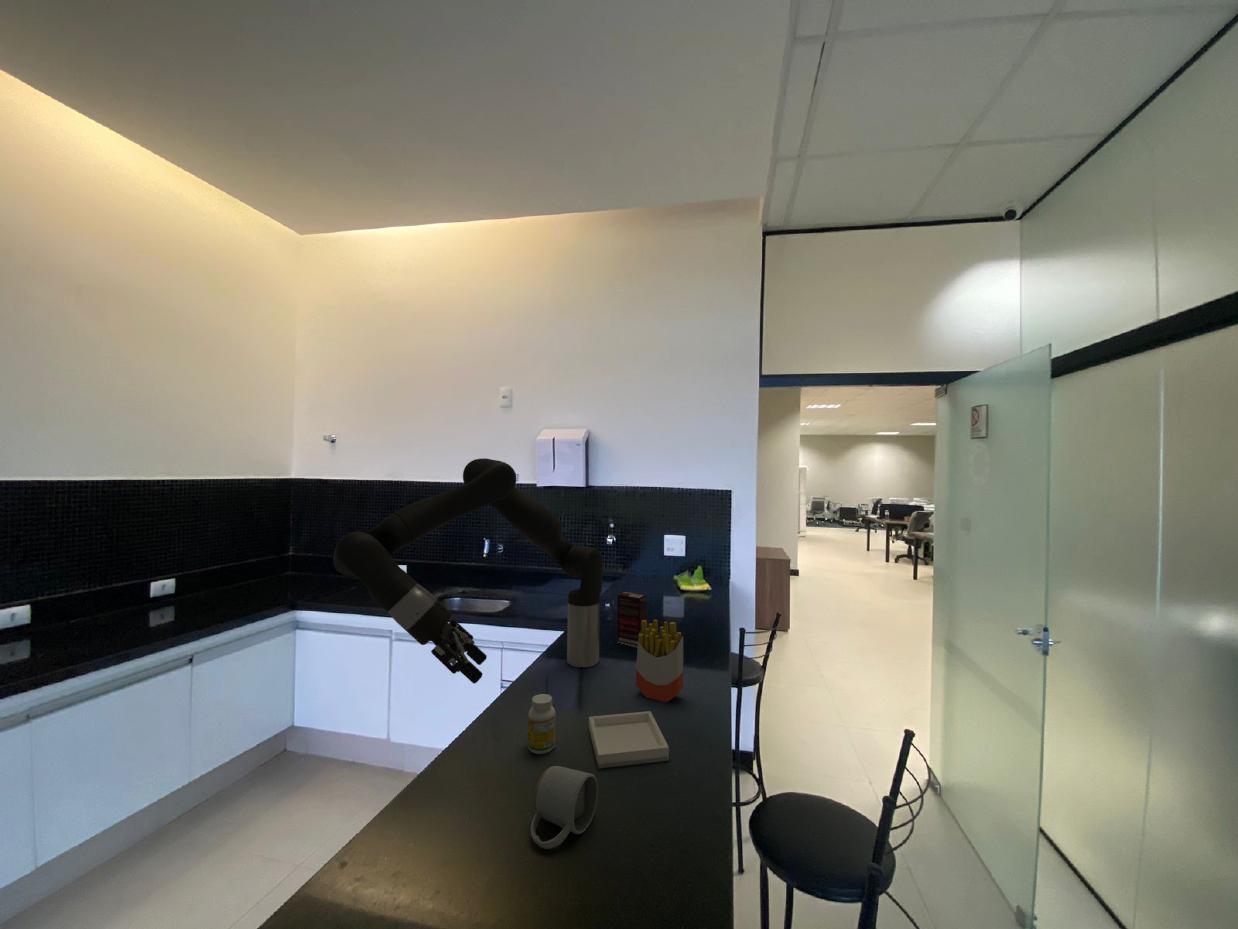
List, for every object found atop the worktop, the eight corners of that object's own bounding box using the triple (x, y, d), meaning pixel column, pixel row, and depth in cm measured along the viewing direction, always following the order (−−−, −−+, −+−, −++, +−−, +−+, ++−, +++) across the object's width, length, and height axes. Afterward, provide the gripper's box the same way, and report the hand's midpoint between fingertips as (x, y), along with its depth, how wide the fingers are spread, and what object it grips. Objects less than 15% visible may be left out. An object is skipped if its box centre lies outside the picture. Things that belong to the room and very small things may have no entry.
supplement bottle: (552, 755, 90) (553, 705, 90) (525, 755, 90) (525, 705, 90) (556, 739, 95) (557, 692, 95) (530, 739, 95) (531, 692, 95)
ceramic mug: (556, 796, 78) (556, 751, 78) (599, 812, 75) (599, 765, 75) (517, 842, 69) (516, 791, 69) (563, 863, 65) (563, 809, 65)
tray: (589, 728, 99) (589, 717, 99) (650, 722, 102) (650, 711, 102) (598, 768, 86) (598, 755, 86) (668, 760, 88) (668, 747, 89)
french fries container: (677, 705, 109) (677, 629, 110) (635, 696, 114) (635, 622, 114) (683, 697, 114) (683, 623, 114) (641, 688, 118) (642, 617, 118)
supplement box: (647, 644, 148) (647, 594, 148) (639, 649, 144) (640, 598, 144) (624, 639, 153) (624, 591, 153) (616, 643, 149) (616, 594, 149)
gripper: (427, 609, 82) (493, 670, 84) (442, 590, 96) (498, 642, 98) (394, 641, 81) (461, 702, 83) (414, 617, 95) (471, 669, 97)
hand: (481, 669), depth 91 cm, fingers open, 8 cm apart
